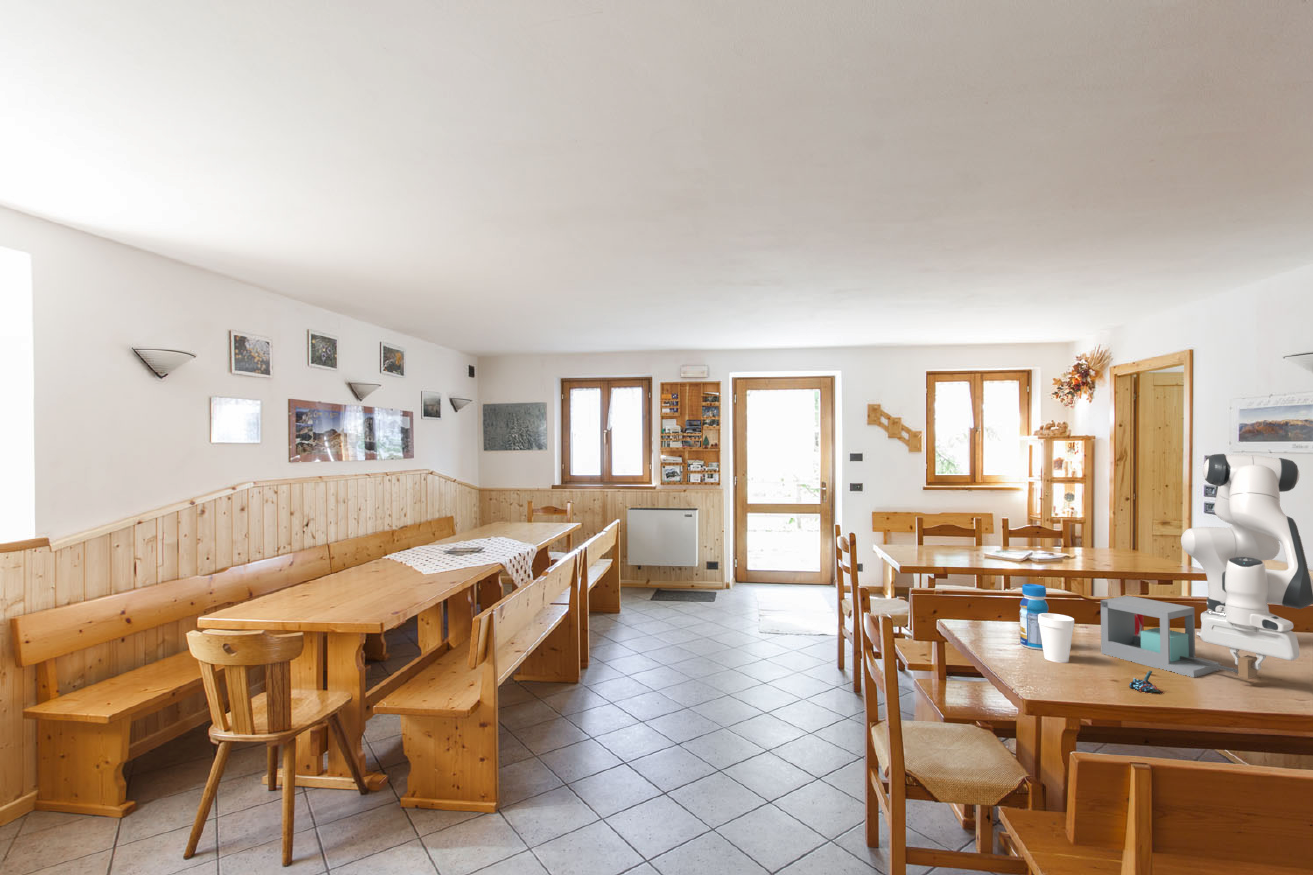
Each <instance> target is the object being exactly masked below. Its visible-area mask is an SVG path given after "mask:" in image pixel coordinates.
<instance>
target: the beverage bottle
mask: <svg viewBox="0 0 1313 875" xmlns="http://www.w3.org/2000/svg"><path fill="white" fill-rule="evenodd" d="M1021 590H1022V591H1021V592H1022V595H1023V596H1024V597H1022V599H1021V600H1020V602H1019V607H1020V610H1019V624H1020V626H1019V627H1020V628H1019V631H1020V632H1019V633H1020V634H1019V635H1020V636H1019V637H1020V639H1019V640H1020V641H1019V642H1020V645H1021V646H1022V647H1024V648H1027V649H1031V650H1037V651H1038V650H1039V651H1043V646H1042V640H1041V633H1040V627H1039V623H1038V615H1039V614H1042V613H1049V612H1048V611H1049V610H1050V609H1049V605H1048V603H1047V601H1046V597H1047V587H1046V586H1045V585H1041V584H1035V583H1025V584H1022V587H1021Z"/></svg>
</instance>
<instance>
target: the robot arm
mask: <svg viewBox="0 0 1313 875" xmlns="http://www.w3.org/2000/svg"><path fill="white" fill-rule="evenodd" d="M1202 474H1203V477H1204V480H1205V481H1206V482H1207V483H1208V484H1210V485H1213V486H1215V487H1216V486H1217V490H1216V496H1215V500H1214V507H1213V512H1214V513H1215V515H1216V517H1217V518H1219V519H1220V520H1222V521H1223V522H1225V523H1227V524H1229V525H1231V526H1230V527H1216V526H1212V527H1211V526H1199V527H1191V528H1187V529H1186V530H1185V531H1184V532H1183V533H1182V535H1181V537H1180V544H1181V547H1182V549H1183V550H1184V552H1185V553H1186V554H1187V555H1188V556H1190V557H1192V558H1193V559H1195V560H1196V561H1197V562H1198V563H1199V564H1200V566H1201V567H1202V569H1203V571H1204V572H1205V576H1206V582H1207V588H1208V589H1207V590H1208V596H1207V598H1206V608H1207V610H1205V611H1203V612H1201V613H1200V622H1201V626H1200V631H1196V633H1195V634H1196V635H1197V636H1199V637H1200V640H1202V642H1204V643H1208V644H1212V645H1216V646H1222V647H1225V648H1229V653H1230V654H1231V655H1232V657H1233V659H1234V664H1235V665H1236V666H1238V658H1240V657H1241V656H1240V654H1239V652H1240V651H1243V652H1244V651H1245V652H1249V653H1253V654H1255V657H1257V661H1256V662H1255V661H1253V662H1251V665H1252V666H1251V668H1252V669H1256V670H1258V671H1260V670H1261V669H1262V663H1263V662H1264V661H1265V659H1267V657H1272V658H1277V659H1281V660H1285V661H1291V662H1292V661H1295V660H1297V659H1299V658H1300V645H1299V641H1298V640H1299V639H1298V637H1297V635H1296V634H1295V633H1294V631H1292V630H1293V629H1294V623H1293V621H1290V620H1289V619H1286V618H1283V617H1281V616H1278V615H1276V614H1274V613H1272V612H1270V609H1269V605H1268V604H1272V605H1277V606H1278V605H1279V606H1283V607H1287V608H1293V609H1298V610H1301V609H1304V608H1307V607H1309V606H1311V605H1313V578H1312V575H1310V571H1309V567H1308V562H1307V558H1306V555H1305V554H1306V553H1305V550H1304V546H1303V542H1302V538H1301V536H1300V532H1299V528H1298V525H1297V524H1296V522H1295V520H1294V518H1292V517H1290V516H1288V515H1286V513H1284V511H1283V509H1282V508H1281V497H1280V496H1281V495H1280V493H1282V492H1283V493H1285V492H1289V491H1292V490H1293V489H1294V488H1295V487H1296V486H1297V484H1298V482H1299V480H1300V470H1299V468H1298V465H1297V463H1295V461H1293V460H1290V459H1287V458H1282V457H1279V458H1278V457H1277V458H1276V457H1272V456H1271V457H1270V456H1264V455H1257V454H1255V455H1254V454H1250V455H1247V454H1225V453H1218V454H1217V453H1215V454H1212V455H1210V456H1208V457H1207V458H1206V460H1205V462H1204V464H1203V466H1202ZM1280 544H1282V547H1283V551H1284V554H1285V559H1286V563H1287V569H1283V570H1281V569H1271V568H1270V569H1269V568H1266V566H1265V563H1264V561H1270V560H1271V561H1272V560H1273V559H1275V558H1276V557H1277V556H1278V554H1279V553H1280V549H1281V545H1280ZM1196 635H1195V636H1196Z"/></svg>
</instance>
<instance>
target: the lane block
mask: <svg viewBox="0 0 1313 875" xmlns="http://www.w3.org/2000/svg"><path fill="white" fill-rule="evenodd" d="M1141 648H1142V649H1146V650H1150V651H1154V652H1158V653H1160V627H1154V628H1149V629H1145V630H1144V631H1141ZM1188 657H1189V643H1188V634H1186V633H1185V632H1180V631H1175V630H1171V629H1170V662H1174V661H1177V660H1181V659H1182V660H1186V661H1190V662H1194V663H1198V664H1202V665H1206V666H1211V667H1215V668H1219V669H1220V670H1223V671H1229V672H1232V673H1237V674H1238V677H1239V678H1242V679H1243V678H1244V679H1247V680H1248V679H1251V678H1254V677H1256V676H1258V675H1259V674H1258V673H1259V672H1258V671H1259V670H1256V669H1252V668H1251V666H1252V665H1251V662H1253V661H1255V662H1256V661H1257V660H1258V657H1256V656H1252V655H1250V654H1249V655H1248V654H1247V655H1244V656H1240V658H1238V665H1237V666H1238V668H1234V667H1229V666H1224V665H1221V664H1220V665H1217V664H1213V663H1208V662H1204V661H1200V660H1196V659H1192V658H1188Z"/></svg>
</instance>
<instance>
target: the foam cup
mask: <svg viewBox="0 0 1313 875" xmlns="http://www.w3.org/2000/svg"><path fill="white" fill-rule="evenodd" d="M1038 623H1039V627H1040V633H1041V640H1042V646H1043V650H1042V651H1043V657H1044V659H1045V660H1047V661H1050V662H1054V663H1061V664H1063V663H1064V664H1065V663H1069V659H1070V653H1071V646H1072V639H1073V633H1074V628H1075V618H1073V617H1072V616H1069V615H1065V614H1059V613H1050V612H1048V613H1042V614H1039V615H1038Z"/></svg>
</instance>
